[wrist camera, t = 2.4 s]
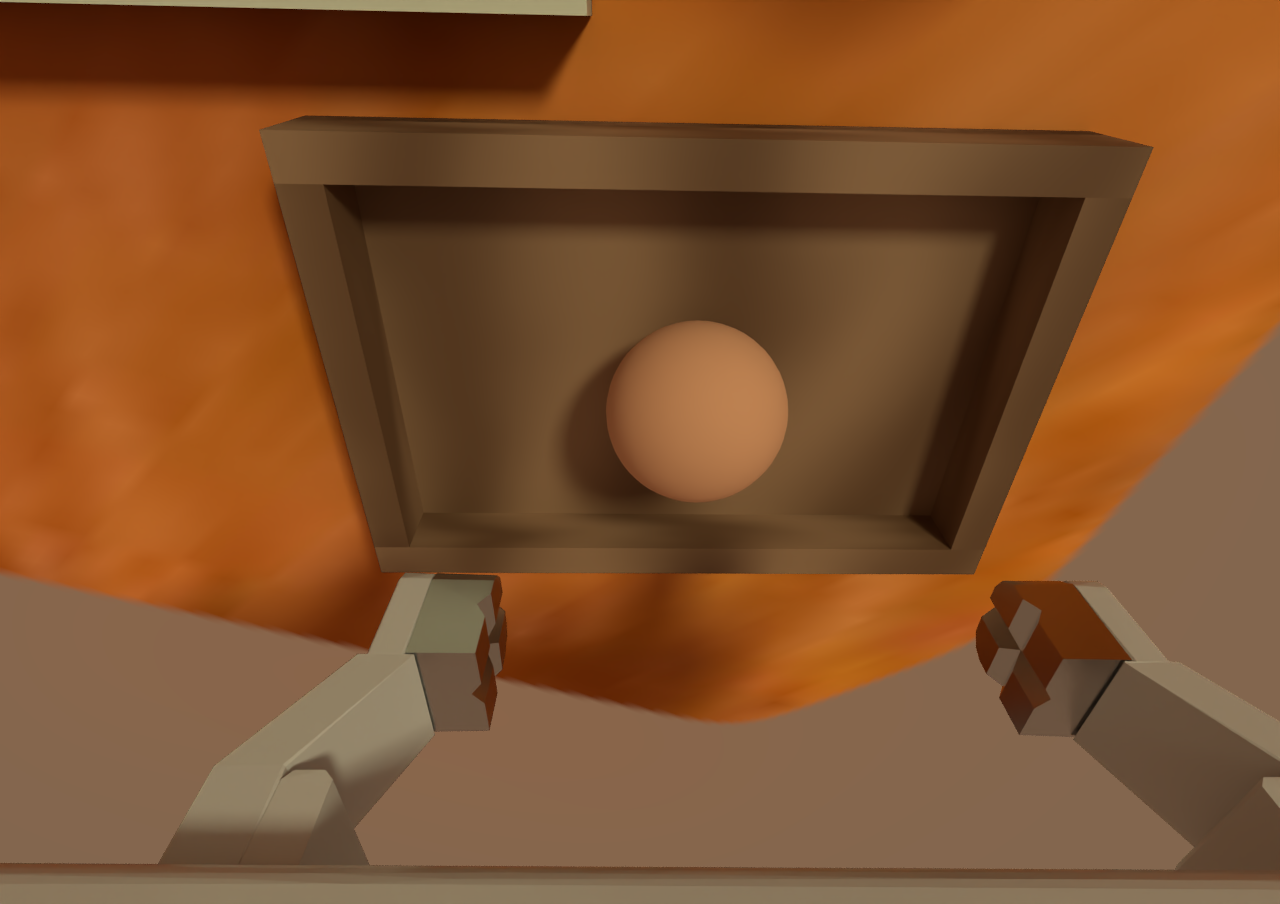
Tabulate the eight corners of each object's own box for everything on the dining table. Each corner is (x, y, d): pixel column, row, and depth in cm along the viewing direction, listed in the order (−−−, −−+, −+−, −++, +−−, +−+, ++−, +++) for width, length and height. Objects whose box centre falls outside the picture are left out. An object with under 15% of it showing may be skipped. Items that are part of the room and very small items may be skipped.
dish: (402, 524, 21) (381, 572, 20) (305, 115, 15) (259, 129, 13) (945, 527, 22) (973, 574, 20) (1089, 131, 15) (1153, 147, 13)
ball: (609, 438, 19) (604, 539, 15) (607, 291, 16) (601, 371, 13) (759, 440, 19) (790, 541, 15) (780, 294, 17) (823, 373, 13)
